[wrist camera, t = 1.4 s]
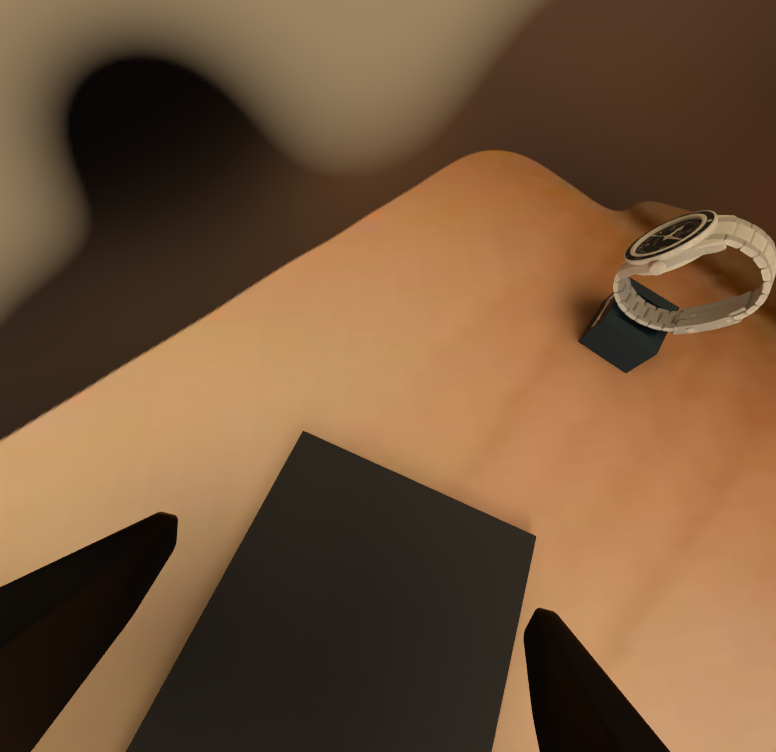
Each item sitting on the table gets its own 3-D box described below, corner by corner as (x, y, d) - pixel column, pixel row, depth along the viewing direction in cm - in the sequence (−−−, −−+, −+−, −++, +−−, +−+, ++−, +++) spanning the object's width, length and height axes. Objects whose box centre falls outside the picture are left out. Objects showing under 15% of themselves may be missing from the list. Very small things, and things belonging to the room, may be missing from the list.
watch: (584, 288, 32) (692, 174, 22) (667, 341, 31) (822, 243, 21) (557, 328, 30) (663, 220, 20) (645, 387, 29) (807, 302, 19)
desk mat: (424, 1053, 14) (426, 1066, 14) (71, 854, 15) (64, 861, 15) (533, 536, 23) (536, 536, 22) (303, 432, 24) (303, 430, 24)
